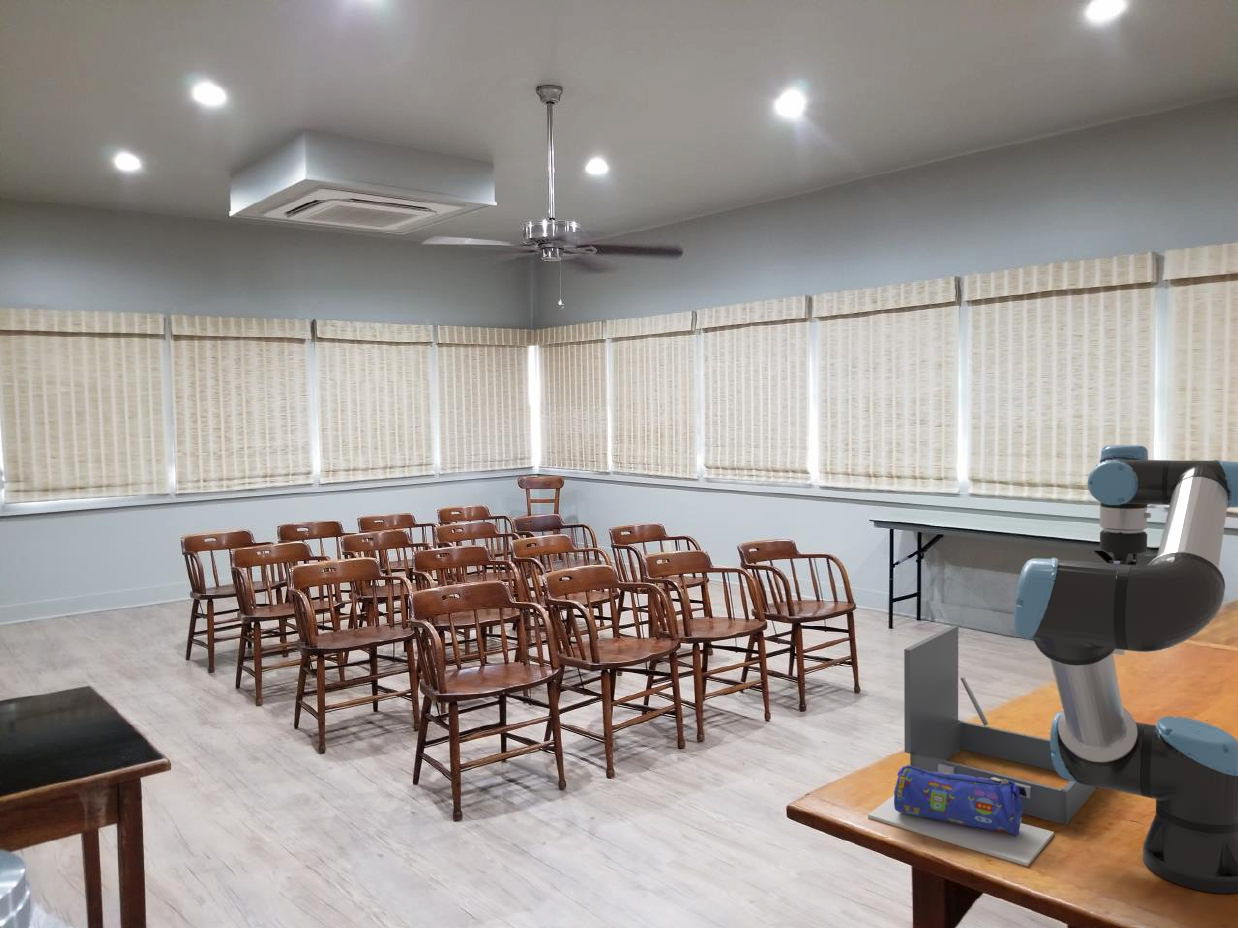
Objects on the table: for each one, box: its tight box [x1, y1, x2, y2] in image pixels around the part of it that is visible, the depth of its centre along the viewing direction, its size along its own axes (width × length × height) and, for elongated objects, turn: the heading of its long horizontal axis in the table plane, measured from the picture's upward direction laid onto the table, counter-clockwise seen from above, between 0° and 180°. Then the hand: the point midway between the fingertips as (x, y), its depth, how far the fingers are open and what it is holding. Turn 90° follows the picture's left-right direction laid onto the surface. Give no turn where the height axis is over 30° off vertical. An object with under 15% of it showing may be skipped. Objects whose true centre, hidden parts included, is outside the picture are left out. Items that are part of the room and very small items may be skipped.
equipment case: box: [903, 625, 1098, 826], centre depth 179 cm, size 26×30×27 cm
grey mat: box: [867, 794, 1055, 867], centre depth 161 cm, size 14×28×1 cm, turn 48°
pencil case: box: [893, 764, 1027, 836], centre depth 161 cm, size 22×9×10 cm, turn 62°
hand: (1122, 645), depth 165 cm, fingers open, 13 cm apart
